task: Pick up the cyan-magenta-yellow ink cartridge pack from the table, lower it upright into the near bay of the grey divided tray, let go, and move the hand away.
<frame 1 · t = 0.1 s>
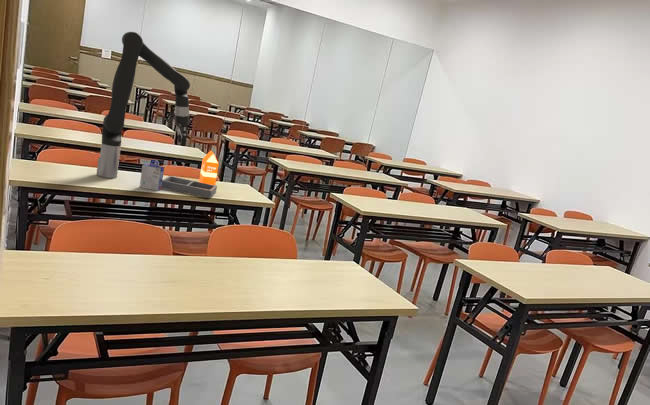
hand: (181, 143, 271), 22 cm above the table, tool pointing down, fingers open, 8 cm apart
grey divided tray: (189, 190, 266), on the table
ink cartridge box: (150, 188, 253), on the table
orange juice: (206, 185, 286), on the table
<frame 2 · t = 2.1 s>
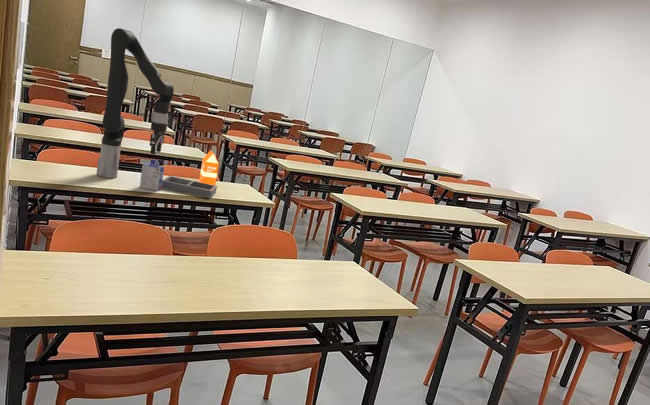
hand: (155, 152, 249), 19 cm above the table, tool pointing down, fingers open, 8 cm apart
nothing on the table moved.
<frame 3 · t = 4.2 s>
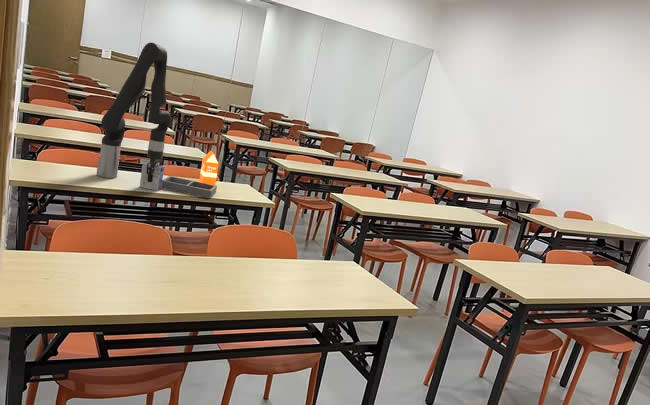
hand: (151, 180, 252), 4 cm above the table, tool pointing down, fingers closed on ink cartridge box, 5 cm apart
ink cartridge box: (150, 188, 253), on the table, touching gripper
everything else where it was.
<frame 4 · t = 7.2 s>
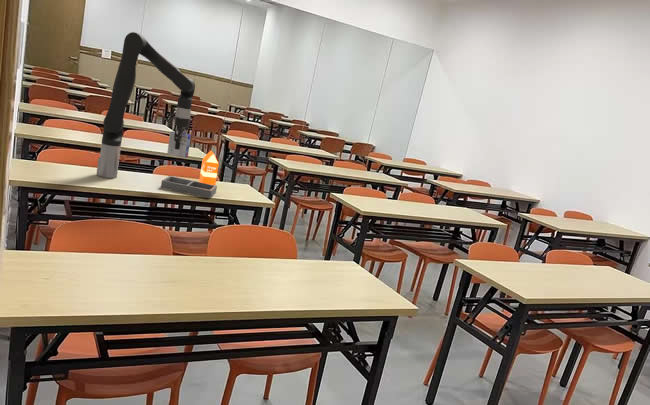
hand: (178, 148, 258), 22 cm above the table, tool pointing down, fingers closed on ink cartridge box, 5 cm apart
ink cartridge box: (177, 156, 259), point 18 cm above the table, touching gripper
everything else where it was.
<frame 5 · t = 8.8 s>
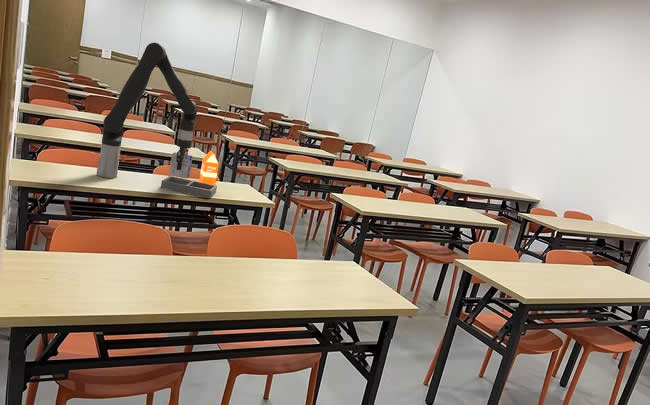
hand: (180, 168, 263), 11 cm above the table, tool pointing down, fingers closed on ink cartridge box, 5 cm apart
ink cartridge box: (179, 176, 264), point 6 cm above the table, touching gripper
everything else where it was.
when the fingers open (7 cm above the table, at t = 10.0 s): ink cartridge box drops 2 cm, resting on grey divided tray.
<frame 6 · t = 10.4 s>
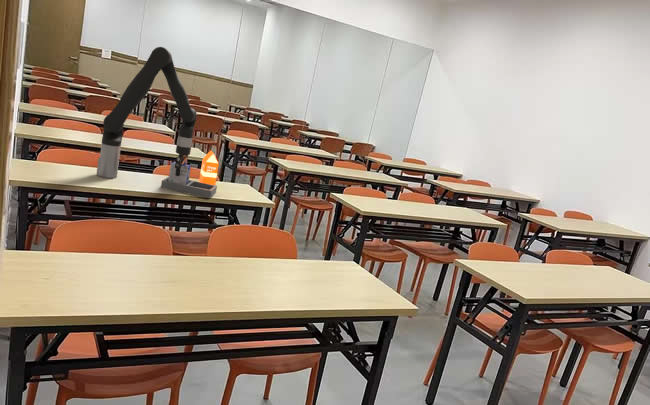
hand: (179, 174, 264), 8 cm above the table, tool pointing down, fingers open, 8 cm apart
ink cartridge box: (177, 186, 265), point 1 cm above the table, touching grey divided tray
everything else where it was.
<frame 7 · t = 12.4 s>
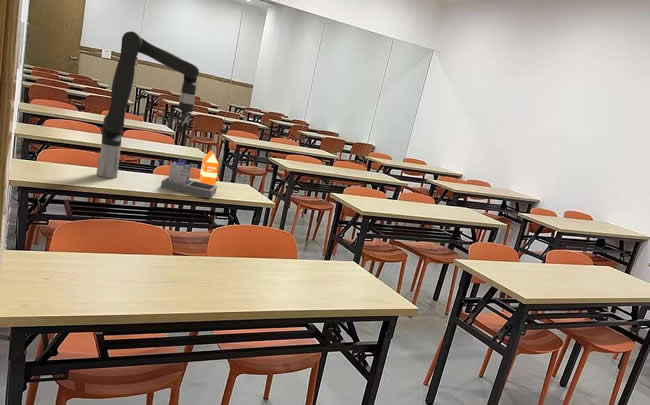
hand: (181, 131, 263), 30 cm above the table, tool pointing down, fingers open, 8 cm apart
nothing on the table moved.
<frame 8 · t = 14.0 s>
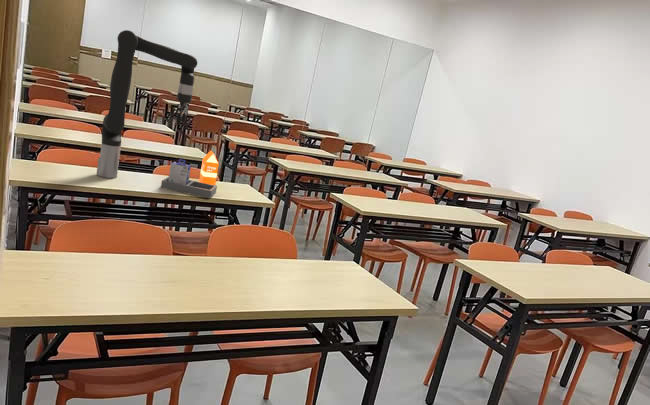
hand: (180, 122, 265), 34 cm above the table, tool pointing down, fingers open, 8 cm apart
nothing on the table moved.
at the end: ink cartridge box 0.2 cm from the target spot on the grey divided tray, point 0.9 cm above the grey divided tray's base; ink cartridge box tilted 0°; the gripper is holding nothing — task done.
